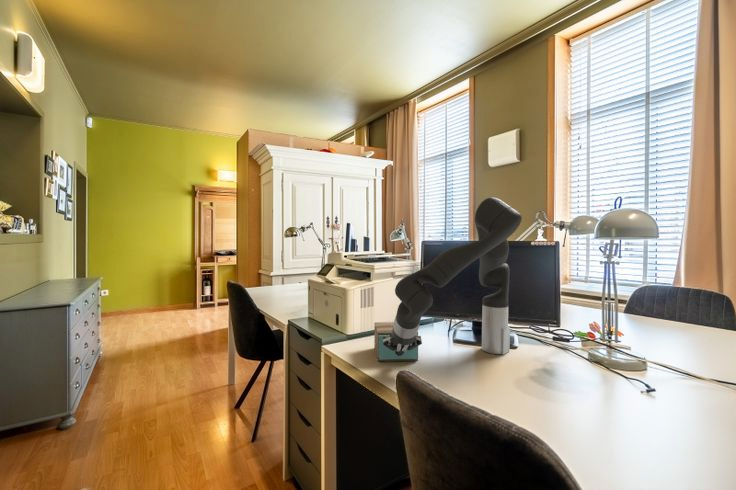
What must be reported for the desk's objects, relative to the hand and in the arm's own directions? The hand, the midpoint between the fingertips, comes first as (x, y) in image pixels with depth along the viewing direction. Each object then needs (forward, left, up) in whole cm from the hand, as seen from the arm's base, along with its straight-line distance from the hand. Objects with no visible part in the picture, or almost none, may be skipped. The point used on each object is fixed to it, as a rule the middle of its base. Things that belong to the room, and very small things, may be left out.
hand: (399, 353), depth 120 cm
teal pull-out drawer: (+6, -7, -3) cm, 10 cm away
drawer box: (+8, -8, -4) cm, 12 cm away
